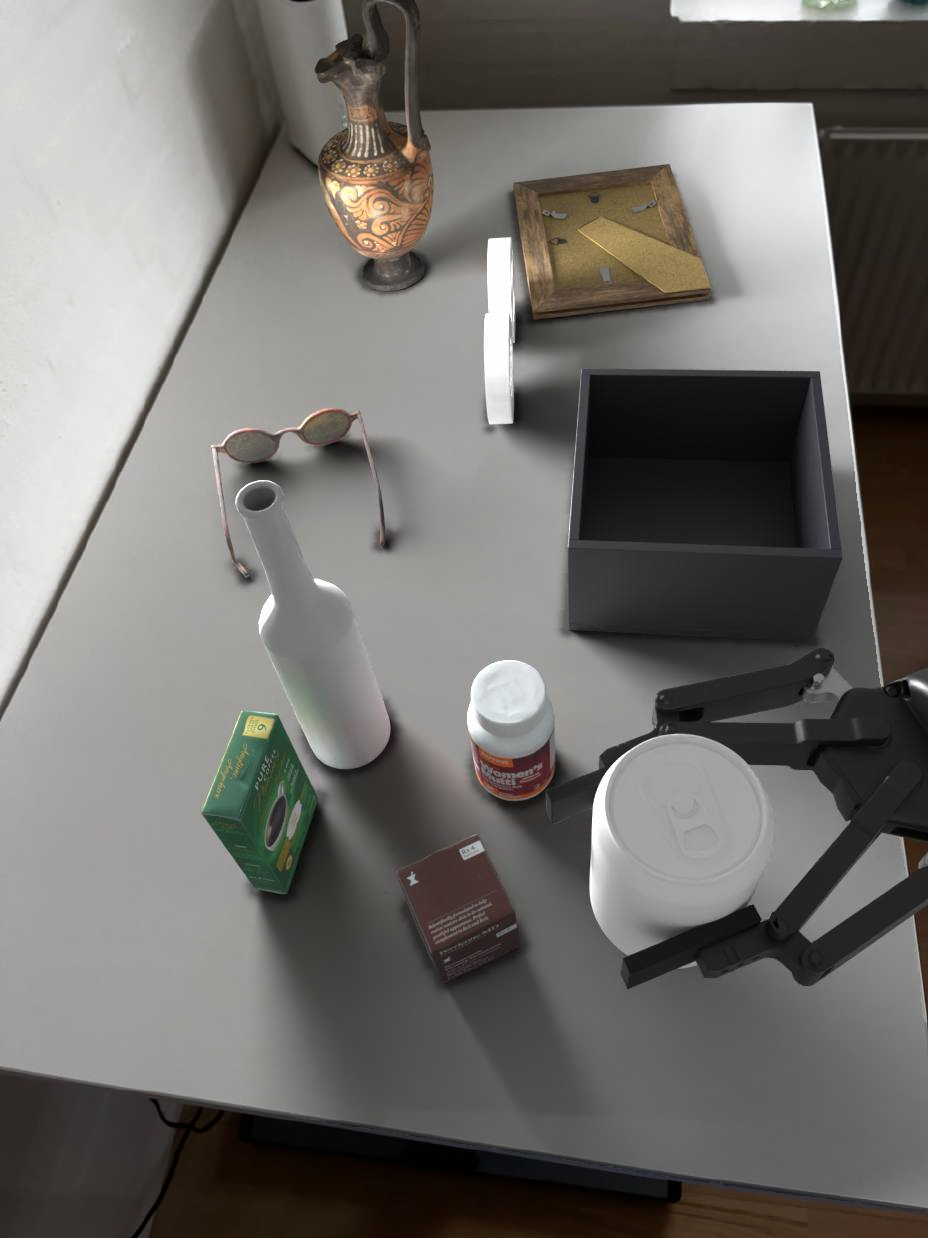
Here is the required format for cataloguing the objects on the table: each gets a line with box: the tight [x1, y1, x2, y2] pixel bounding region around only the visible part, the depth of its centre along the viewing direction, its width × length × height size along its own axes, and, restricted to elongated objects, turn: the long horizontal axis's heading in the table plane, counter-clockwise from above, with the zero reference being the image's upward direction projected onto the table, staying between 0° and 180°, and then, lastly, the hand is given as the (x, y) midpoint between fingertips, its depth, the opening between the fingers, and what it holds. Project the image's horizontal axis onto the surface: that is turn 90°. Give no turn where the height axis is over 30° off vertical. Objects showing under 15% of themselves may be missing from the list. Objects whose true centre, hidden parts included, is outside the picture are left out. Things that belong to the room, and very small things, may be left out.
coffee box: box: [200, 709, 319, 895], centre depth 68 cm, size 8×3×13 cm, turn 168°
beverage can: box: [589, 734, 776, 970], centre depth 48 cm, size 8×8×12 cm
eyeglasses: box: [210, 407, 386, 579], centre depth 91 cm, size 15×15×5 cm
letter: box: [483, 237, 516, 425], centre depth 97 cm, size 22×2×10 cm, turn 178°
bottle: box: [234, 479, 392, 770], centre depth 67 cm, size 7×7×28 cm
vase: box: [314, 0, 435, 292], centre depth 99 cm, size 12×12×30 cm
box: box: [395, 833, 521, 984], centre depth 66 cm, size 6×6×7 cm
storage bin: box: [567, 367, 844, 643], centre depth 82 cm, size 20×20×11 cm
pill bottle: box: [466, 659, 556, 802], centre depth 71 cm, size 6×6×11 cm
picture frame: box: [512, 163, 712, 320], centre depth 110 cm, size 19×2×24 cm
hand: (585, 886), depth 47 cm, fingers closed on beverage can, 8 cm apart
